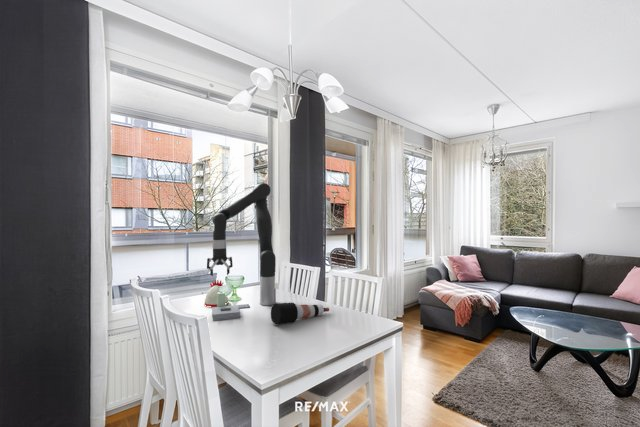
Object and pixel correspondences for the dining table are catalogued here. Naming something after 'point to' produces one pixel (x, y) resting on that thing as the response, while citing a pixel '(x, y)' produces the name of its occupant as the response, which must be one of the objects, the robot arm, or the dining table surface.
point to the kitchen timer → (213, 294)
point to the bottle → (294, 312)
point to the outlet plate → (225, 312)
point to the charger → (220, 299)
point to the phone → (243, 306)
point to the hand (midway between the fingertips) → (220, 275)
